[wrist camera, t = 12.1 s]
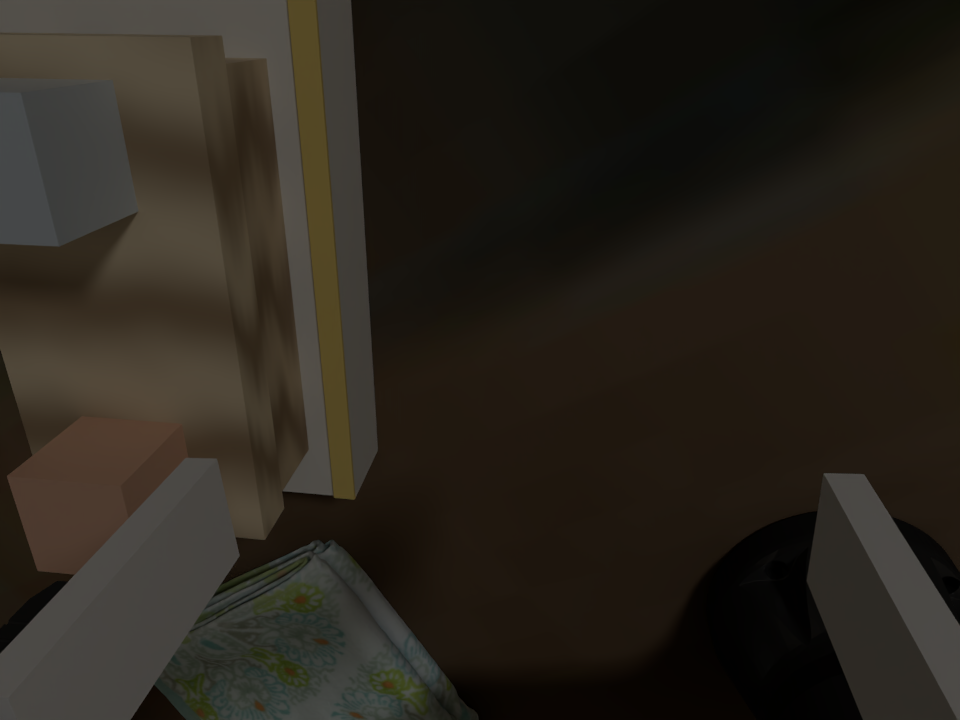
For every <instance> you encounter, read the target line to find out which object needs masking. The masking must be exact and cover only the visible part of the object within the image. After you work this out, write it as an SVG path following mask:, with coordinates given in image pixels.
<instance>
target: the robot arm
mask: <svg viewBox="0 0 960 720" xmlns="http://www.w3.org/2000/svg"><path fill="white" fill-rule="evenodd" d="M238 557H239V551H238V547H237V543H236V538H235V534H234V530H233V525H232V521H231V517H230V512H229V508H228V504H227V500H226V495H225V491H224V487H223V482H222V478H221V474H220V469H219V465H218V461H217V459H213V458H185V459H184V460H183V461H182V462H181V463H180V464H179V466H178V467H177V468H176V469H175V470H174V471H173V472H172V473H171V474H170V475H169V476H168V477H167V478H166V479H165V480H164V481H163V482H162V483H161V485H160V486H159V487H158V488H157V489H156V490H155V491H154V492H153V493H152V494H151V495H150V496H149V497H148V498H147V499H146V500H145V501H144V502H143V504H142V505H141V506H140V507H139V508H138V509H137V510H136V511H135V512H134V513H133V514H132V515H131V516H130V517H129V518H128V519H127V520H126V521H125V522H124V524H123V525H122V526H121V527H120V528H119V529H118V530H117V531H116V532H115V533H114V534H113V535H112V536H111V537H110V538H109V539H108V540H107V541H106V543H105V544H104V545H103V546H102V547H101V548H100V549H99V550H98V551H97V552H96V553H95V554H94V555H93V556H92V557H91V558H90V559H89V560H88V562H87V563H86V564H85V565H84V566H83V567H82V568H81V569H80V570H79V571H78V572H77V573H76V574H75V575H74V576H73V577H72V578H71V579H70V581H69V582H65V581H57V582H55V583H54V584H52V585H50V586H49V587H47V588H46V589H44V590H43V591H41V592H40V593H38V594H37V595H35V596H33V597H32V598H30V599H29V600H28V601H27V602H26V603H25V604H24V605H23V606H22V607H21V608H20V609H19V610H18V611H17V612H16V613H15V614H14V615H13V616H12V617H11V618H10V619H9V622H8V624H7V625H5V624H4V625H3V626H2V627H1V628H0V720H131V718H132V717H133V715H134V714H135V712H136V711H137V709H138V708H139V706H140V705H141V703H142V702H143V700H144V699H145V697H146V696H147V694H148V693H149V691H150V690H151V688H152V687H153V685H154V684H155V682H156V681H157V679H158V678H159V676H160V675H161V673H162V672H163V670H164V669H165V667H166V666H167V664H168V663H169V661H170V660H171V658H172V657H173V655H174V654H175V652H176V651H177V649H178V648H179V646H180V645H181V643H182V642H183V640H184V639H185V637H186V636H187V634H188V633H189V631H190V630H191V628H192V627H193V625H194V623H195V622H196V620H197V619H198V617H199V616H200V614H201V613H202V611H203V610H204V608H205V607H206V605H207V604H208V602H209V601H210V599H211V598H212V596H213V595H214V593H215V592H216V590H217V589H218V587H219V586H220V584H221V583H222V581H223V580H224V578H225V577H226V575H227V574H228V572H229V571H230V569H231V568H232V566H233V565H234V563H235V562H236V560H237V559H238ZM707 618H708V623H709V628H710V633H711V638H712V643H713V646H714V650H715V652H716V655H717V657H718V660H719V662H720V664H721V666H722V667H723V669H724V670H725V672H726V673H727V675H728V676H729V678H730V679H731V681H732V682H733V684H734V685H735V687H736V689H737V690H738V692H739V693H740V695H741V696H742V698H743V699H744V701H745V702H746V704H747V705H748V707H749V708H750V710H751V711H752V713H753V714H754V716H755V717H756V719H757V720H960V572H959V571H958V569H957V568H956V566H955V565H954V563H953V562H952V560H951V559H950V557H949V556H948V554H947V553H946V552H945V550H944V549H943V548H942V547H941V546H940V545H939V544H938V543H937V542H936V541H935V540H934V539H932V538H931V537H930V536H929V535H927V534H926V533H924V532H923V531H921V530H920V529H918V528H916V527H914V526H913V525H910V524H908V523H906V522H904V521H901V520H899V519H896V518H893V517H891V516H890V515H889V513H888V512H887V510H886V508H885V507H884V505H883V504H882V502H881V501H880V499H879V497H878V496H877V494H876V493H875V491H874V490H873V488H872V486H871V485H870V483H869V482H868V480H867V478H866V477H865V475H864V474H833V473H824V474H823V480H822V487H821V493H820V499H819V506H818V512H813V513H808V514H803V515H799V516H795V517H792V518H789V519H786V520H783V521H780V522H778V523H775V524H773V525H771V526H769V527H767V528H765V529H763V530H761V531H759V532H757V533H756V534H754V535H752V536H751V537H749V538H748V539H747V540H745V541H744V542H743V543H741V544H740V545H739V546H738V547H737V548H736V549H735V550H733V551H732V552H731V554H730V555H729V556H728V557H727V558H726V559H725V560H724V562H723V563H722V564H721V566H720V567H719V569H718V570H717V572H716V574H715V576H714V578H713V580H712V582H711V585H710V588H709V592H708V597H707Z"/></svg>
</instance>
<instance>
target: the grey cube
mask: <svg viewBox="0 0 960 720" xmlns="http://www.w3.org/2000/svg"><path fill="white" fill-rule="evenodd" d="M136 212H138V206H137V201H136V196H135V191H134V186H133V181H132V176H131V170H130V165H129V160H128V155H127V150H126V145H125V140H124V135H123V130H122V125H121V120H120V115H119V110H118V105H117V99H116V94H115V89H114V84H113V80H86V79H34V78H0V244H16V245H37V246H58V247H59V246H61V245H64V244H66V243H68V242H71V241H73V240H75V239H77V238H80V237H82V236H84V235H86V234H89V233H91V232H93V231H95V230H98V229H100V228H102V227H104V226H107V225H109V224H111V223H113V222H116V221H118V220H120V219H122V218H125V217H127V216H129V215H132V214H134V213H136Z"/></svg>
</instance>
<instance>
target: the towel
mask: <svg viewBox="0 0 960 720" xmlns="http://www.w3.org/2000/svg"><path fill="white" fill-rule="evenodd" d="M154 685H155V686H156V687H157V688H158V689H159V690H160V691H161V692H162V693H163V694H164V695H165V696H166V697H167V698H168V700H169V701H170V702H171V703H172V705H173V706H174V707H175V708H176V709H177V710H178V711H179V713H180V714H181V715H182V716H183V717H184V718H185V719H186V720H479V718H478V714H477V713H476V712H475V711H474V710H473V709H471V708H469V707H468V706H467V705H466V704H465V703H464V702H463V701H462V700H461V699H460V697H459V696H458V694H457V691H456V689H455V687H454V686H453V684H452V683H451V682H450V680H449V679H448V678H447V677H446V676H445V674H444V673H443V672H442V670H441V669H440V668H439V667H438V665H437V663H436V662H435V661H434V660H433V659H432V658H431V656H430V655H429V654H428V652H427V651H426V649H425V648H424V647H423V645H422V644H421V643H420V642H419V641H418V639H417V638H416V637H415V635H414V634H413V633H412V631H411V630H410V629H409V628H408V627H407V625H406V624H405V623H404V621H403V620H402V619H401V618H400V617H399V615H398V614H397V613H396V611H395V610H394V609H393V608H392V606H391V605H390V604H389V602H388V601H387V600H386V599H385V597H384V596H383V595H382V593H381V592H380V591H379V589H378V588H377V587H376V586H375V584H374V583H373V581H372V580H371V579H370V578H369V577H368V575H367V574H366V573H365V572H364V570H363V569H362V568H361V567H360V566H359V565H358V563H357V562H356V561H355V560H354V559H353V558H352V557H351V555H349V554H348V553H347V551H346V550H344V549H343V548H342V547H340V546H338V545H337V543H336V542H335V541H334V540H330V541H329V542H327V543H326V544H323V543H322V542H321V541H320V540H316V541H313V542H311V543H310V544H309V545H307V546H304V547H301V548H299V549H297V550H296V551H293V552H291V553H289V554H287V555H285V556H283V557H281V558H279V559H276V560H274V561H271V562H269V563H267V564H265V565H262V566H260V567H258V568H256V569H253V570H251V571H249V572H247V573H244V574H242V575H240V576H238V577H236V578H233V579H231V580H230V581H228V582H226V583H224V584H222V585H220V586H219V587H218V589H217V590H216V592H215V593H214V595H213V596H212V598H211V599H210V601H209V602H208V604H207V605H206V607H205V608H204V610H203V611H202V613H201V614H200V616H199V617H198V619H197V620H196V622H195V623H194V625H193V627H192V628H191V630H190V631H189V633H188V634H187V636H186V637H185V639H184V640H183V642H182V643H181V645H180V646H179V648H178V649H177V651H176V652H175V654H174V655H173V657H172V658H171V660H170V661H169V663H168V664H167V666H166V667H165V669H164V670H163V672H162V673H161V675H160V676H159V678H158V679H157V681H156V682H155V684H154Z"/></svg>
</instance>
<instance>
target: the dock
mask: <svg viewBox="0 0 960 720" xmlns="http://www.w3.org/2000/svg"><path fill="white" fill-rule="evenodd" d="M0 32H2V33H74V34H145V35H217V36H222V38H223V46H224V53H225V58H266V59H267V68H268V78H269V87H270V96H271V105H272V114H273V124H274V133H275V142H276V151H277V160H278V170H279V179H280V188H281V197H282V206H283V216H284V225H285V234H286V243H287V252H288V262H289V271H290V280H291V289H292V298H293V308H294V317H295V326H296V335H297V344H298V354H299V363H300V372H301V381H302V390H303V400H304V409H305V418H306V427H307V436H308V446H309V450H308V452H307V453H306V455H305V456H304V458H303V460H302V461H301V463H300V464H299V466H298V467H297V469H296V471H295V472H294V474H293V475H292V477H291V479H290V480H289V482H288V483H287V485H286V486H285V488H284V490H283V491H287V492H299V493H310V494H322V495H333V496H334V498H343V499H354V500H355V497H356V495H357V493H358V491H359V489H360V487H361V485H362V483H363V480H364V478H365V476H366V474H367V472H368V470H369V468H370V466H371V463H372V461H373V459H374V457H375V455H376V453H377V451H378V445H377V428H376V411H375V395H374V378H373V362H372V345H371V328H370V312H369V295H368V278H367V262H366V245H365V228H364V212H363V195H362V178H361V162H360V145H359V128H358V112H357V95H356V78H355V62H354V45H353V28H352V12H351V0H0Z"/></svg>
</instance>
